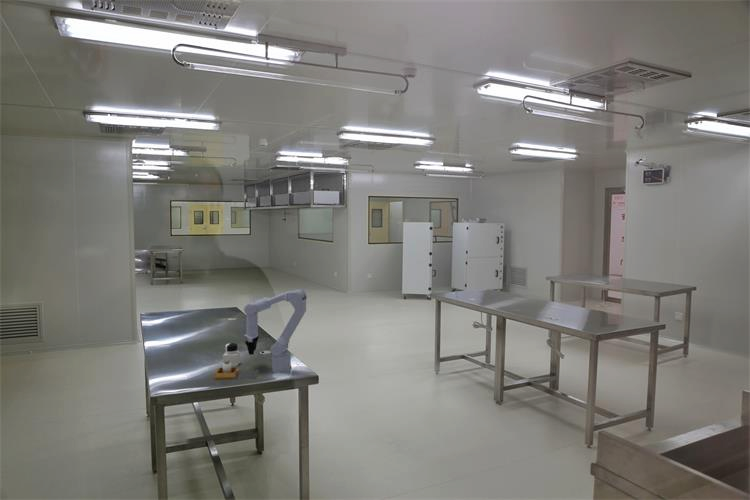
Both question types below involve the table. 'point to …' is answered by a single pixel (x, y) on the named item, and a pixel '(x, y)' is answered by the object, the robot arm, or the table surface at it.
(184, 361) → the table surface
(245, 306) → the robot arm
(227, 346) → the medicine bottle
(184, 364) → the table surface
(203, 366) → the table surface
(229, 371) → the canister
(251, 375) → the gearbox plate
